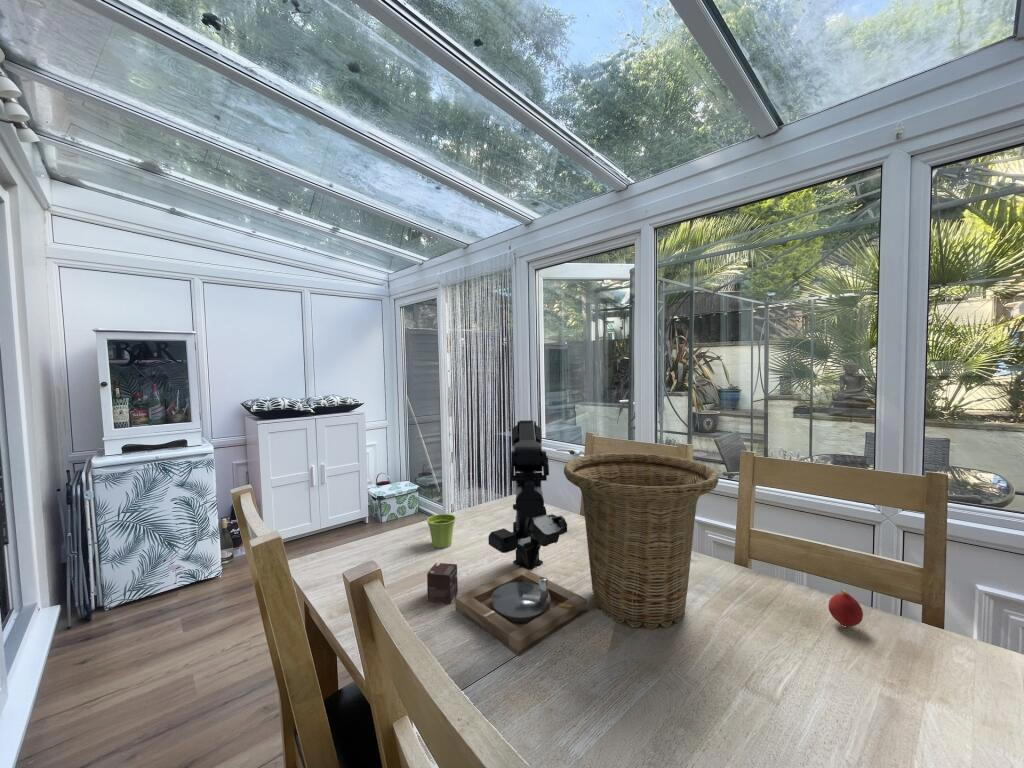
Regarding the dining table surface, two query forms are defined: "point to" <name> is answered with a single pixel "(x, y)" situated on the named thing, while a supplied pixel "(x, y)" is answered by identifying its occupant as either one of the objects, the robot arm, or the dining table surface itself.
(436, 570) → the box
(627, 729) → the dining table surface
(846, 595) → the onion
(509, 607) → the grey metal bowl
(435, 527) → the plant pot
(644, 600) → the wicker basket
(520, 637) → the square wooden tray
